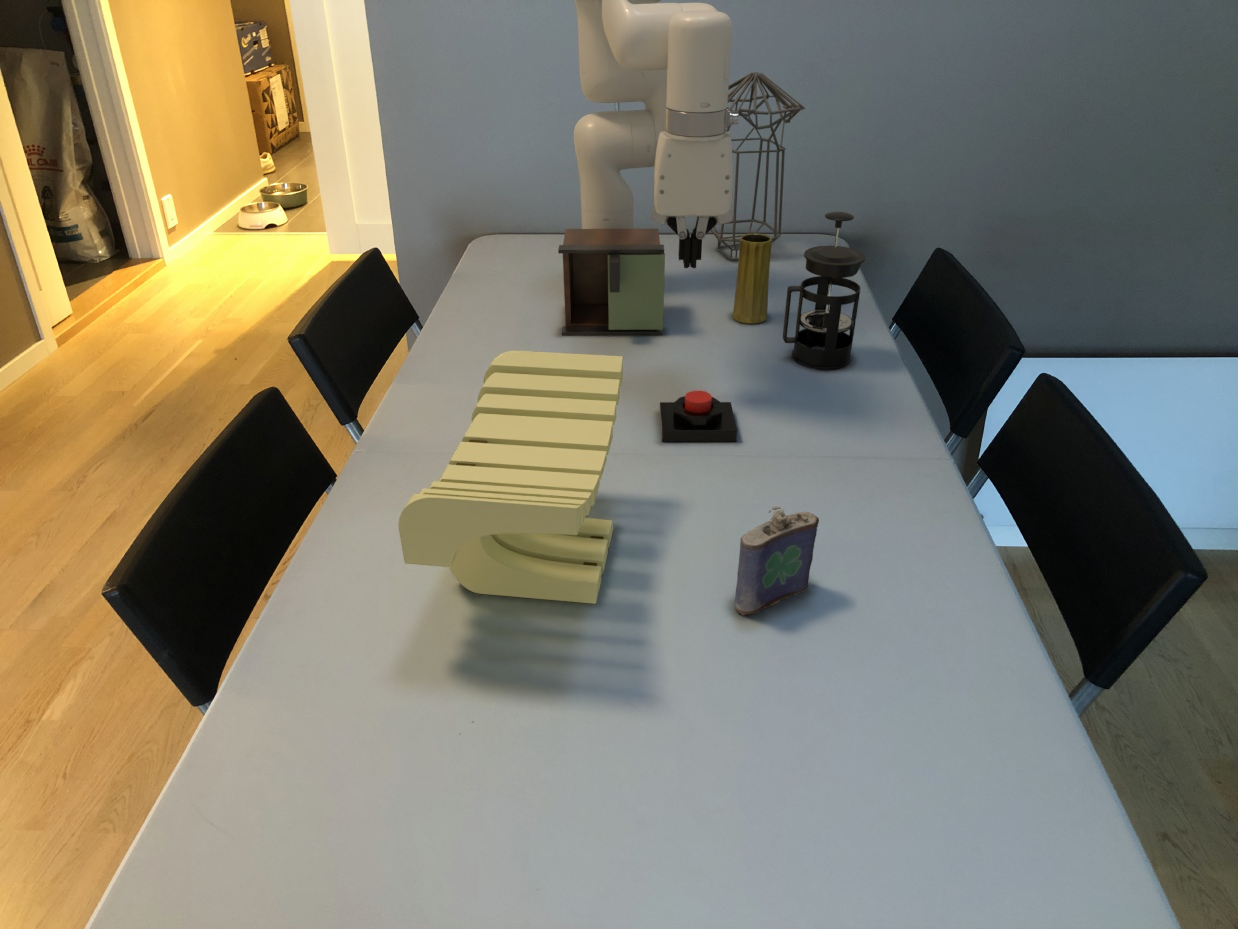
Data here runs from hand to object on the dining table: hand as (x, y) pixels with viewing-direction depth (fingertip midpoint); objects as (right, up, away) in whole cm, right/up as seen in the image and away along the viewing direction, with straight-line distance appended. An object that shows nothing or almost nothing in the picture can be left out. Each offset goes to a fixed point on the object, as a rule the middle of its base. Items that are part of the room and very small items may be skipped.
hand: (689, 264), depth 118 cm
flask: (+6, -41, -28) cm, 50 cm away
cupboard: (-11, -2, +34) cm, 36 cm away
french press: (+22, -10, +21) cm, 32 cm away
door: (-7, -5, +27) cm, 28 cm away
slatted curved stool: (-19, -38, -22) cm, 48 cm away
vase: (+13, -1, +35) cm, 38 cm away
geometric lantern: (+17, +17, +65) cm, 69 cm away
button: (+1, -20, 0) cm, 20 cm away
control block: (+1, -22, +2) cm, 22 cm away
